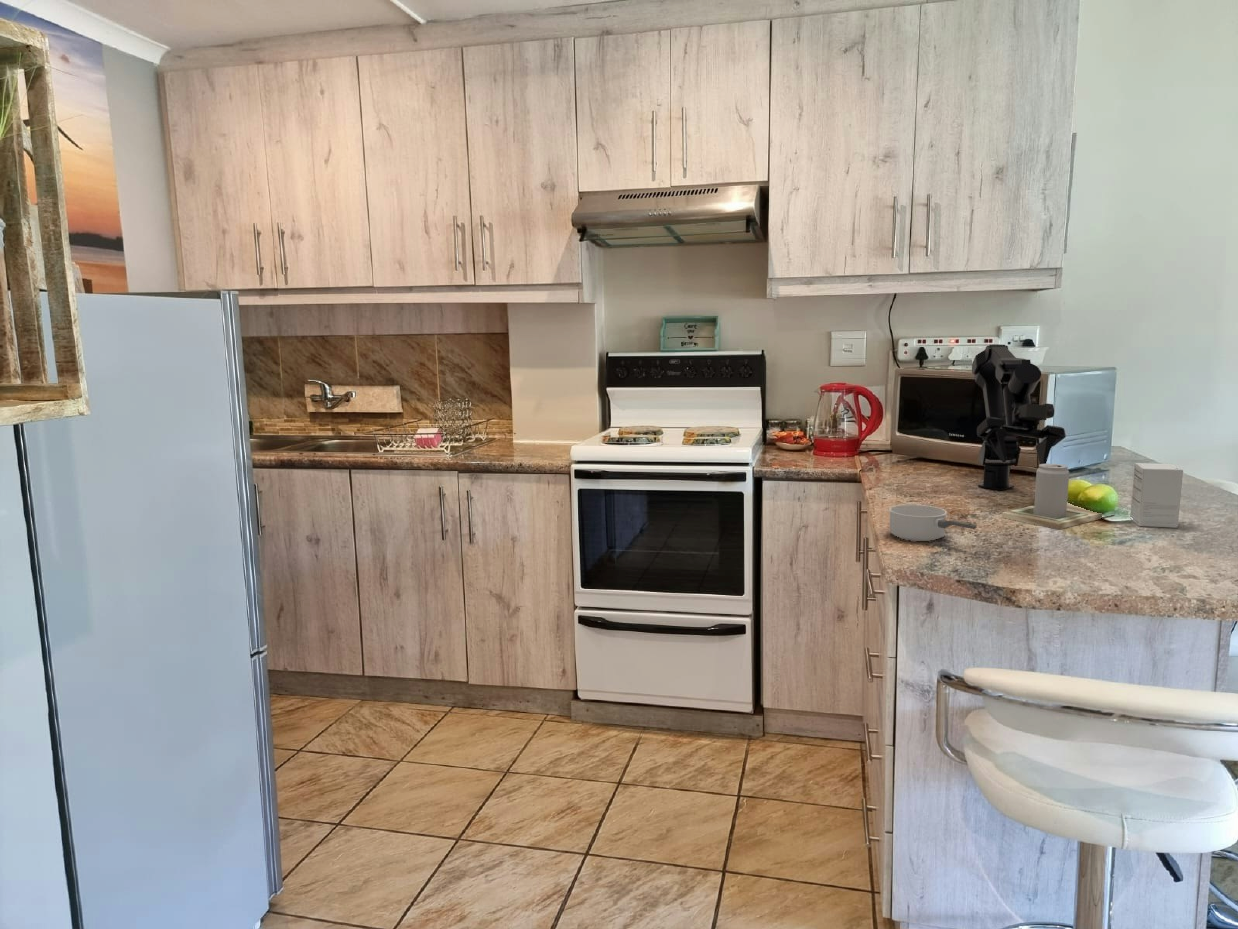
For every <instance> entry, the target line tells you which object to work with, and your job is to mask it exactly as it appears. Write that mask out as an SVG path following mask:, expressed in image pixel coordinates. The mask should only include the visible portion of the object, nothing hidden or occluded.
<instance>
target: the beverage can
mask: <svg viewBox="0 0 1238 929" xmlns="http://www.w3.org/2000/svg"><path fill="white" fill-rule="evenodd" d="M1068 468H1069V467H1068V465H1065V464H1060V463H1046V464H1040V463H1039V464H1038V468H1037V469H1036V471H1035V472H1036V475H1035V476H1036V477H1035V491H1034V503H1033V504H1034V505H1033V506H1034V515H1039V516H1044V517H1049V518H1054V519H1061V518H1065V517H1066V512H1067V502H1068V498H1069V497H1068V496H1069V482H1070V481H1069V480H1070V471H1069V469H1068Z"/></svg>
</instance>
